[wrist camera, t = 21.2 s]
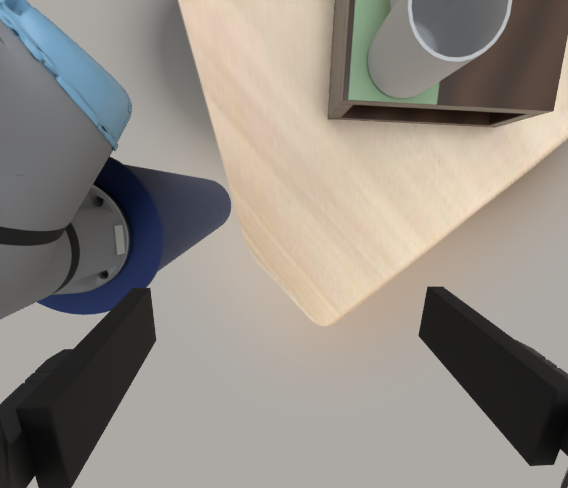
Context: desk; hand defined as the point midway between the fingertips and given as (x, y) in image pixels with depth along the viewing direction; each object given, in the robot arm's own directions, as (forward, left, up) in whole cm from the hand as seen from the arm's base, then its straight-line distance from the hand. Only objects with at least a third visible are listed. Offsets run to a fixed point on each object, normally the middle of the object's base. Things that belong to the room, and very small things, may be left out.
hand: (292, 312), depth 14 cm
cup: (+11, +20, -18) cm, 29 cm away
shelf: (+17, +23, -26) cm, 38 cm away
